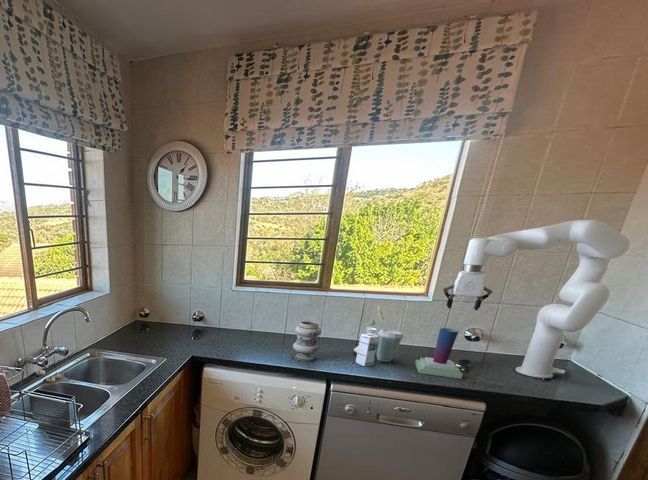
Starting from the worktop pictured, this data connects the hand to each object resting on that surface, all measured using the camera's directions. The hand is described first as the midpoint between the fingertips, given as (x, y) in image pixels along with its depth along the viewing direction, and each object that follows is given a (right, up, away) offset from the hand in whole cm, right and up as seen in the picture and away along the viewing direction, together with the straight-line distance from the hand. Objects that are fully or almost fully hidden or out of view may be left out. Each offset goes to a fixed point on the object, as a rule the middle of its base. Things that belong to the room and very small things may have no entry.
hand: (462, 308), depth 176 cm
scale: (-5, -27, +9) cm, 29 cm away
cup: (-5, -23, +7) cm, 25 cm away
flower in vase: (-26, -19, +30) cm, 44 cm away
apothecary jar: (-60, -21, +24) cm, 68 cm away
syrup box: (-34, -24, +17) cm, 45 cm away
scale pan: (-5, -25, +8) cm, 26 cm away
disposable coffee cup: (-21, -22, +22) cm, 38 cm away
